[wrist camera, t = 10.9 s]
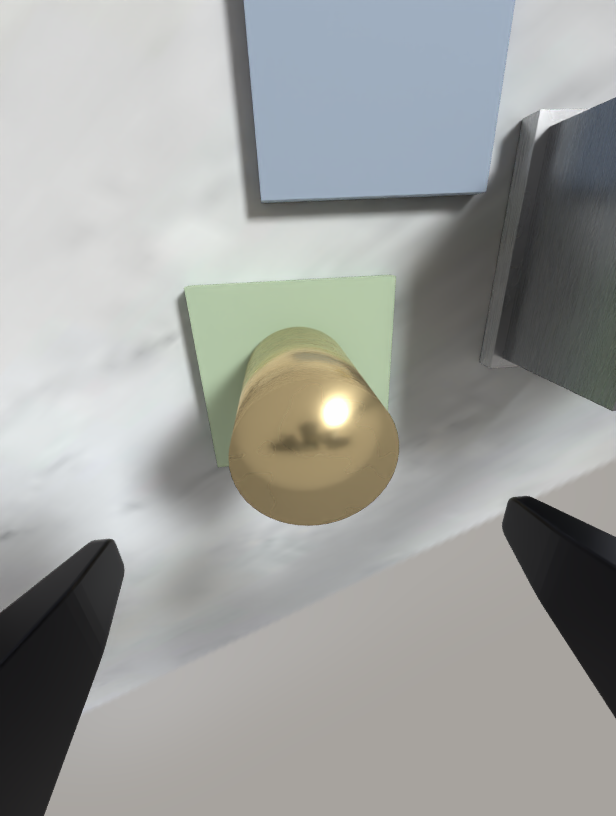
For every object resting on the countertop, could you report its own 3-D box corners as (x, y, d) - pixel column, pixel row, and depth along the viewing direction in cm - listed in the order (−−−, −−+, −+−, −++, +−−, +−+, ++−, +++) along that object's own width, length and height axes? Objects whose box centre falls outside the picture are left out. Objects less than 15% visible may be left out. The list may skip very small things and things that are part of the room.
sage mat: (390, 274, 16) (395, 275, 15) (381, 444, 19) (384, 452, 19) (188, 285, 15) (184, 287, 14) (219, 459, 19) (217, 467, 18)
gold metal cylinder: (349, 322, 16) (404, 371, 9) (349, 421, 18) (394, 516, 11) (238, 330, 15) (215, 387, 9) (252, 430, 17) (240, 533, 11)
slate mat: (523, -145, 11) (541, -173, 10) (475, 194, 14) (486, 191, 14) (230, -153, 10) (227, -184, 9) (261, 203, 14) (261, 200, 13)
